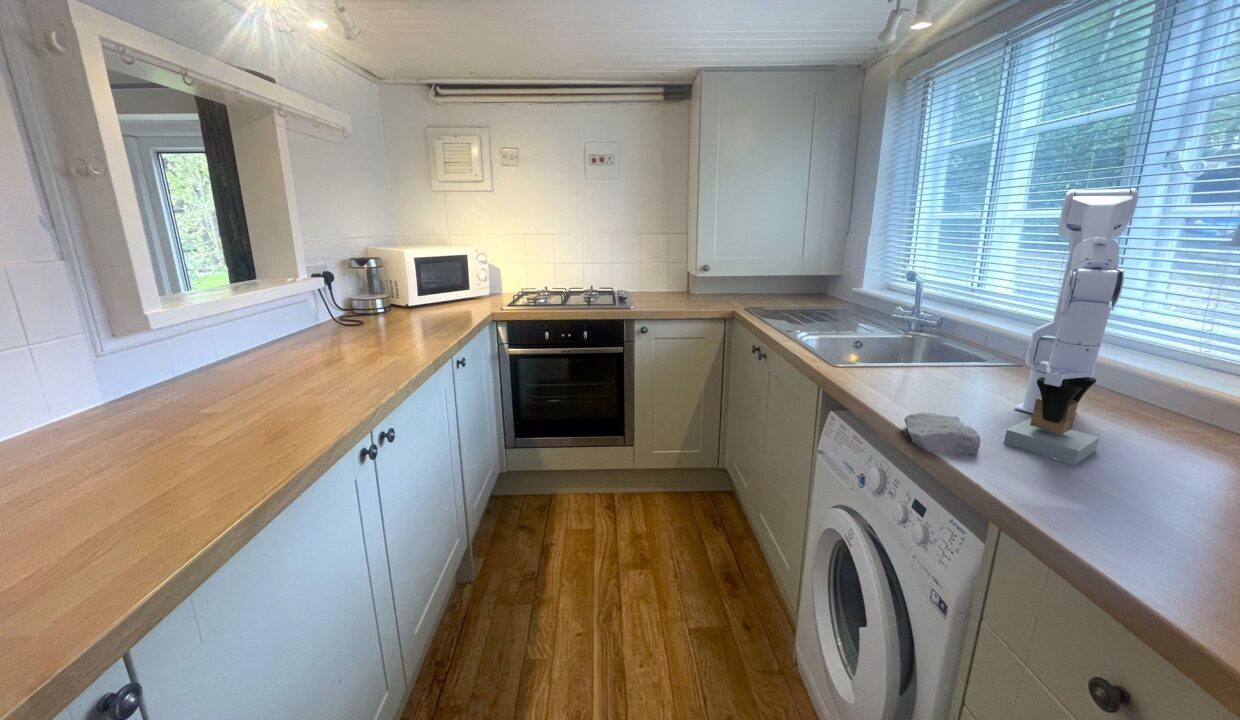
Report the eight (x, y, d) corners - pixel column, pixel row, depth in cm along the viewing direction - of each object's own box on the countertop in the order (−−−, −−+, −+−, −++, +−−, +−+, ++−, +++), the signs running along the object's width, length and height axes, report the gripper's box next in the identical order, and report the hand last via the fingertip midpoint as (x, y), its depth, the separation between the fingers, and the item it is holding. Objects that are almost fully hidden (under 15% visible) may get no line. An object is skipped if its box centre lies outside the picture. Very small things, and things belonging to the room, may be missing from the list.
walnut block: (1039, 420, 90) (1046, 394, 89) (1071, 428, 87) (1078, 401, 85) (1030, 425, 88) (1036, 398, 87) (1062, 434, 84) (1069, 406, 83)
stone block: (920, 462, 86) (985, 457, 84) (918, 436, 85) (984, 430, 83) (896, 436, 97) (953, 431, 95) (895, 413, 96) (952, 407, 94)
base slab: (1025, 432, 95) (1029, 418, 94) (1094, 453, 87) (1099, 437, 86) (1003, 444, 89) (1006, 429, 89) (1074, 467, 81) (1079, 450, 81)
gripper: (1062, 332, 90) (1044, 403, 93) (1030, 342, 82) (1011, 418, 86) (1115, 340, 84) (1093, 415, 88) (1086, 351, 76) (1063, 433, 80)
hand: (1056, 418), depth 86 cm, fingers closed on walnut block, 4 cm apart
